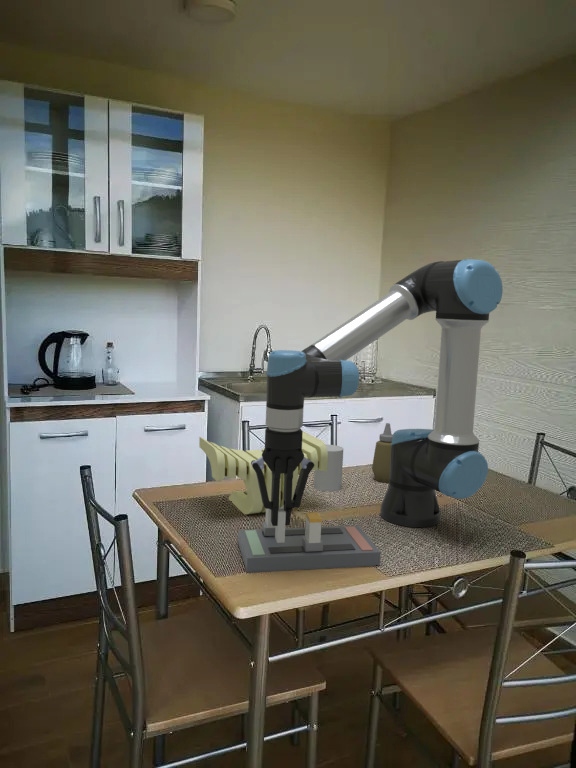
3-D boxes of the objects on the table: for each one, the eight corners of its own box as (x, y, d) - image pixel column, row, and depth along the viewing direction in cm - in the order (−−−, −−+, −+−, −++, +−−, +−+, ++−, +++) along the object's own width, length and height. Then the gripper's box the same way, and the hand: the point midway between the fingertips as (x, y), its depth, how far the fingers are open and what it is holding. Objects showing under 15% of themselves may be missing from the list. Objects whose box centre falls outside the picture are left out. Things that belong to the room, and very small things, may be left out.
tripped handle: (318, 543, 127) (319, 512, 126) (322, 551, 124) (324, 518, 123) (301, 544, 126) (303, 512, 125) (305, 551, 123) (307, 519, 122)
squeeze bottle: (367, 480, 186) (370, 423, 183) (377, 474, 193) (380, 419, 190) (391, 485, 182) (395, 427, 179) (401, 479, 189) (405, 423, 186)
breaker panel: (357, 537, 140) (359, 498, 139) (379, 565, 125) (382, 522, 124) (238, 542, 134) (239, 501, 133) (246, 572, 120) (248, 526, 118)
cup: (324, 481, 183) (326, 443, 181) (346, 487, 178) (348, 448, 176) (308, 487, 177) (310, 447, 175) (330, 493, 172) (332, 452, 170)
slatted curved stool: (216, 522, 146) (217, 451, 144) (198, 501, 160) (199, 436, 158) (325, 509, 158) (328, 443, 156) (299, 491, 173) (302, 430, 170)
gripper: (311, 423, 125) (306, 531, 128) (249, 423, 122) (246, 534, 126) (320, 431, 118) (314, 546, 121) (254, 432, 115) (250, 548, 118)
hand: (279, 539), depth 123 cm, fingers closed
